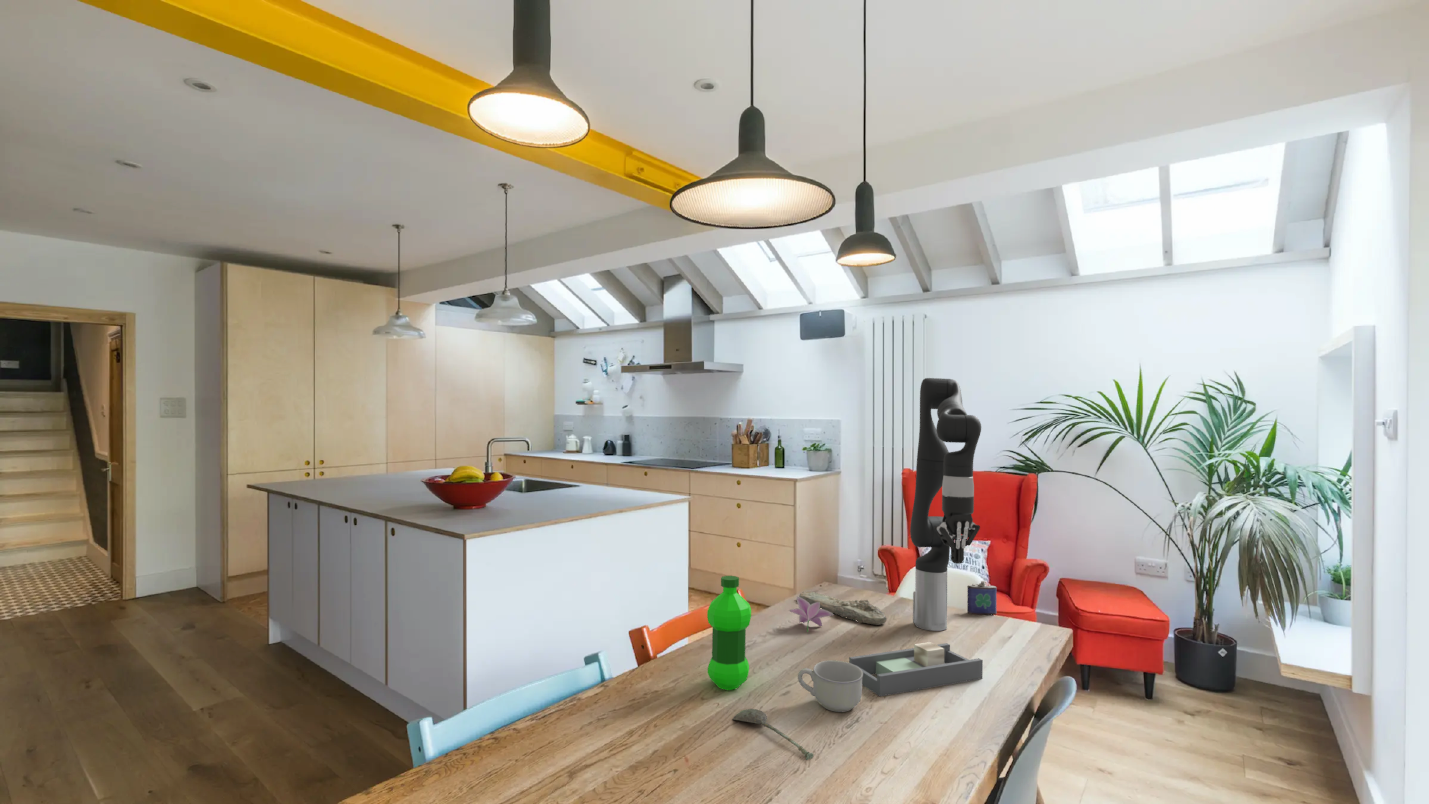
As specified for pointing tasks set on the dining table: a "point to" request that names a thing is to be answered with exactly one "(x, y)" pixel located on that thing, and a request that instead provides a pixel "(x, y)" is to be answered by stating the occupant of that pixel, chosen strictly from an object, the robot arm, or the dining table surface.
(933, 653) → the block
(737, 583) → the plastic bottle
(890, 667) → the trap lane
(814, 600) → the long grey stone
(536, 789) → the dining table surface
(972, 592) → the blue clover-printed container
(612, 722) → the dining table surface
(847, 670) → the teacup
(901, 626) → the dining table surface
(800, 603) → the lily
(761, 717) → the soupspoon
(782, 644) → the dining table surface
